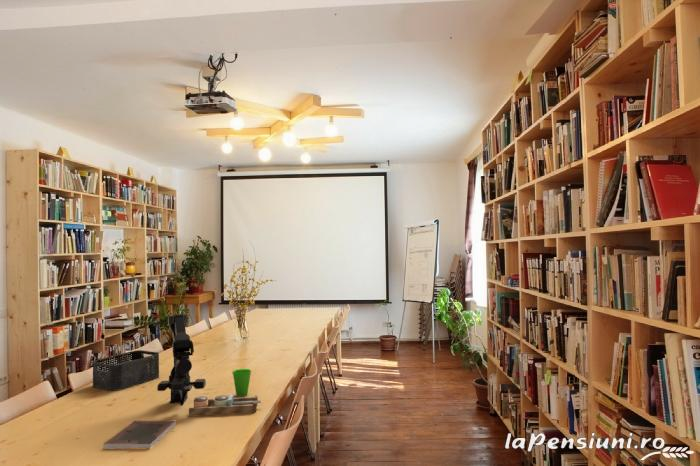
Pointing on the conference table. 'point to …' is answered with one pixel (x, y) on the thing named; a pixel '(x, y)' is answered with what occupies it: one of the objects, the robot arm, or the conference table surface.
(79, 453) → the conference table surface
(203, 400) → the jar
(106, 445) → the picture frame
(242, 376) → the cup
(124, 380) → the storage bin
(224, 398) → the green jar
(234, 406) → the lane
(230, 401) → the pusher
